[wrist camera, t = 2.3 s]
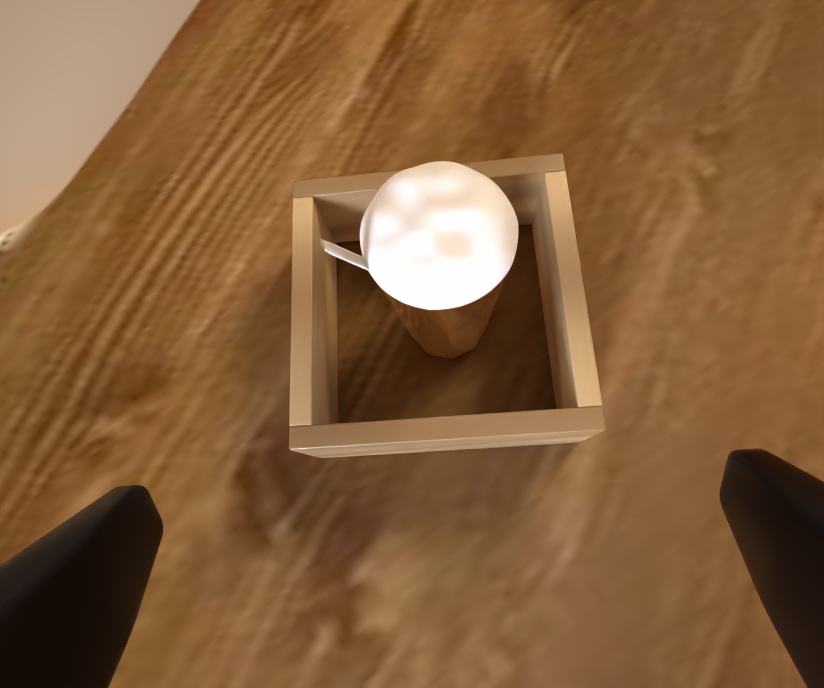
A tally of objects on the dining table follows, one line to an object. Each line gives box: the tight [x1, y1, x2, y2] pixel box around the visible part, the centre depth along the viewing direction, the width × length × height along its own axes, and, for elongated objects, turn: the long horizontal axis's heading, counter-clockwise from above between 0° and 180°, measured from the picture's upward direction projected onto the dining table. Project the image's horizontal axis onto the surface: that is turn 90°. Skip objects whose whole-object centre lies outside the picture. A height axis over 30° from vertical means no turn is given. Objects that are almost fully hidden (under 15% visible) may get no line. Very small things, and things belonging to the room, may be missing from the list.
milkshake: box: [320, 161, 518, 359], centre depth 18 cm, size 4×5×10 cm
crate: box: [289, 153, 606, 458], centre depth 21 cm, size 11×11×4 cm
